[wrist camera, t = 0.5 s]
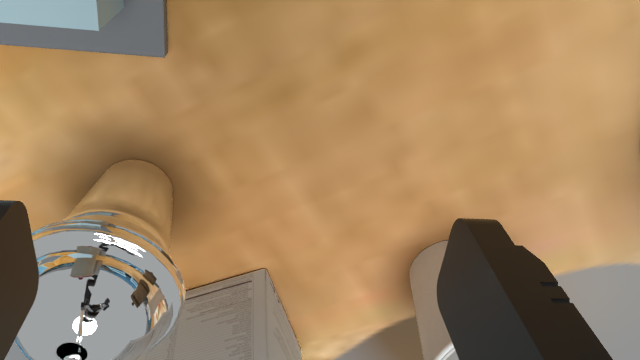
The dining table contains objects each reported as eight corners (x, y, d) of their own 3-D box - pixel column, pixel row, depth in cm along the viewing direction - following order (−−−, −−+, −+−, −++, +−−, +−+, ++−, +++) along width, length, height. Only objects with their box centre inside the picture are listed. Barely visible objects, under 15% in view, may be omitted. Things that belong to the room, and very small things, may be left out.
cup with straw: (43, 203, 34) (-182, 536, 17) (113, 96, 31) (-71, 367, 14) (160, 264, 37) (73, 596, 20) (234, 172, 34) (207, 469, 17)
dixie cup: (413, 215, 37) (459, 316, 29) (518, 235, 39) (591, 336, 31) (376, 304, 41) (407, 417, 32) (473, 319, 43) (527, 430, 34)
